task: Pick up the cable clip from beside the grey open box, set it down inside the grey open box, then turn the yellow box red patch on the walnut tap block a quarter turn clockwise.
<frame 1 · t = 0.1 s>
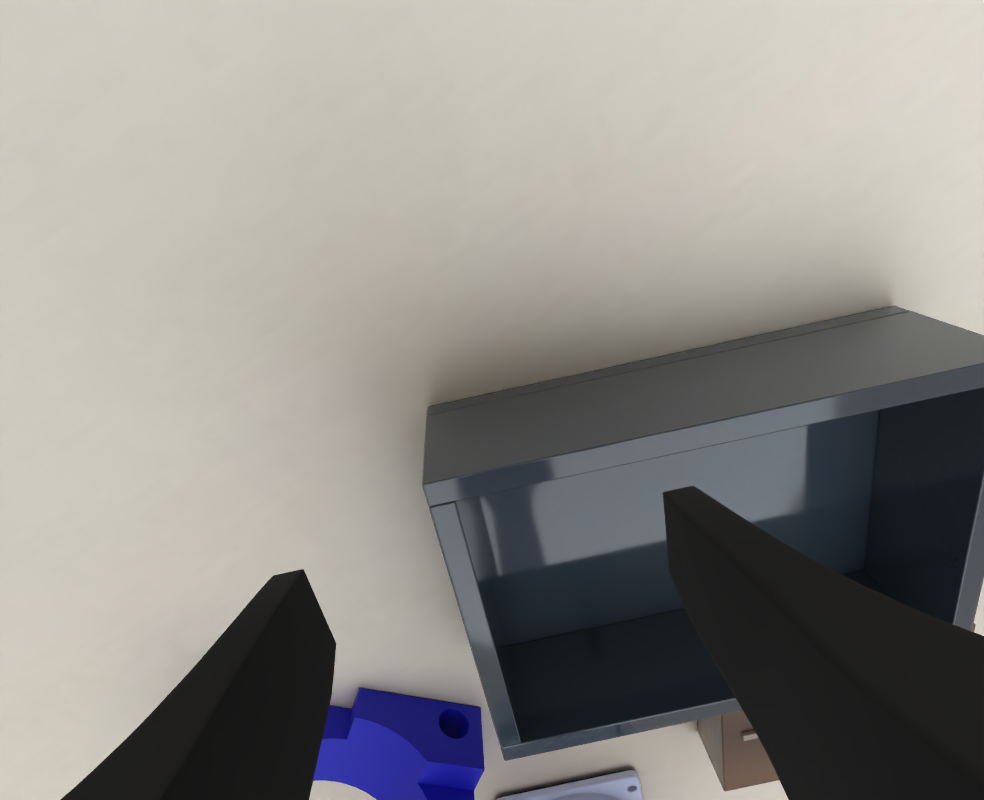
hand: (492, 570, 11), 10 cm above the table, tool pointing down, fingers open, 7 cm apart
tap block: (802, 658, 28), on the table
grey open box: (670, 495, 23), on the table
cable clip: (348, 716, 27), on the table
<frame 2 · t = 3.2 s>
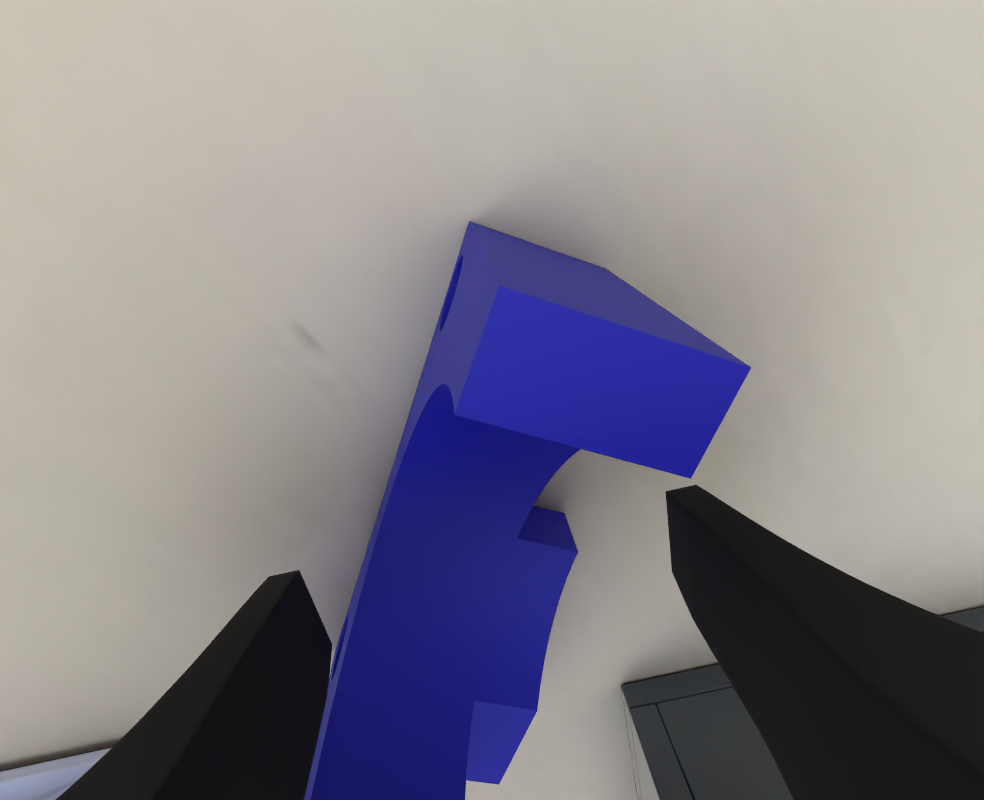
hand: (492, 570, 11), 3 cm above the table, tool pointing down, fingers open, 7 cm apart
cable clip: (480, 488, 14), on the table, touching gripper
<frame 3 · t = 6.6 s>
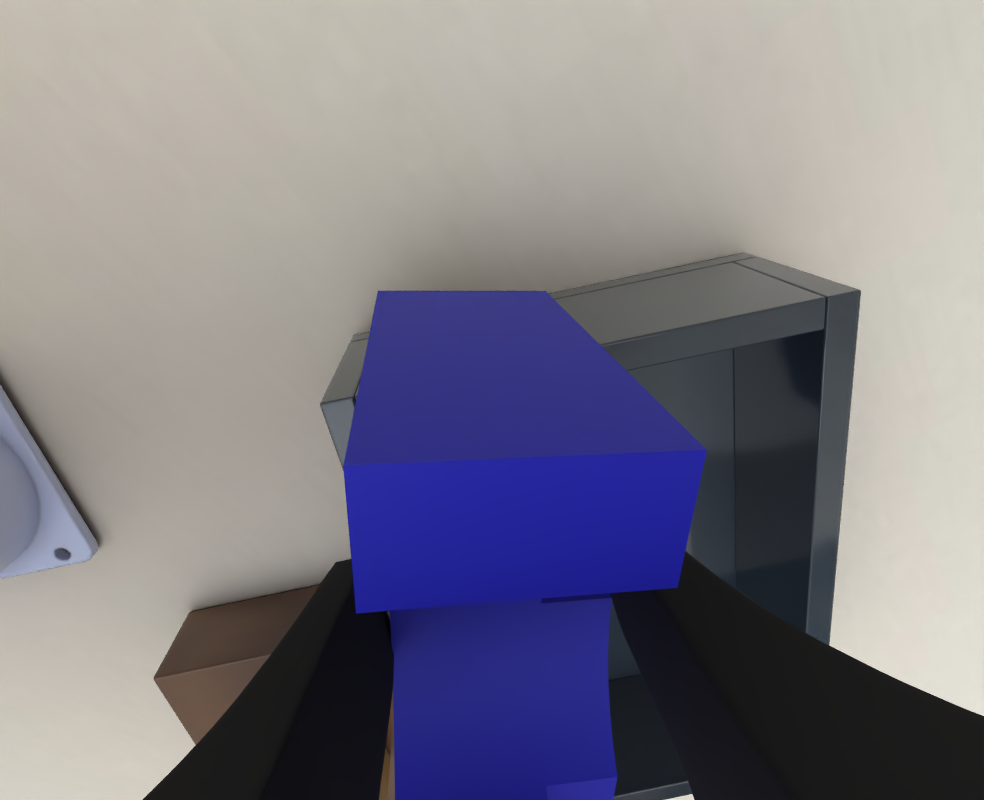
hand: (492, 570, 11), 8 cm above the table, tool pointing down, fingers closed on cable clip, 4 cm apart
tap block: (334, 687, 24), on the table
grey open box: (582, 518, 21), on the table
cable clip: (492, 551, 13), point 7 cm above the table, touching gripper
when the fingers open (2 cm above the table, at t = 9.3 s): cable clip stays where it is, resting on grey open box.
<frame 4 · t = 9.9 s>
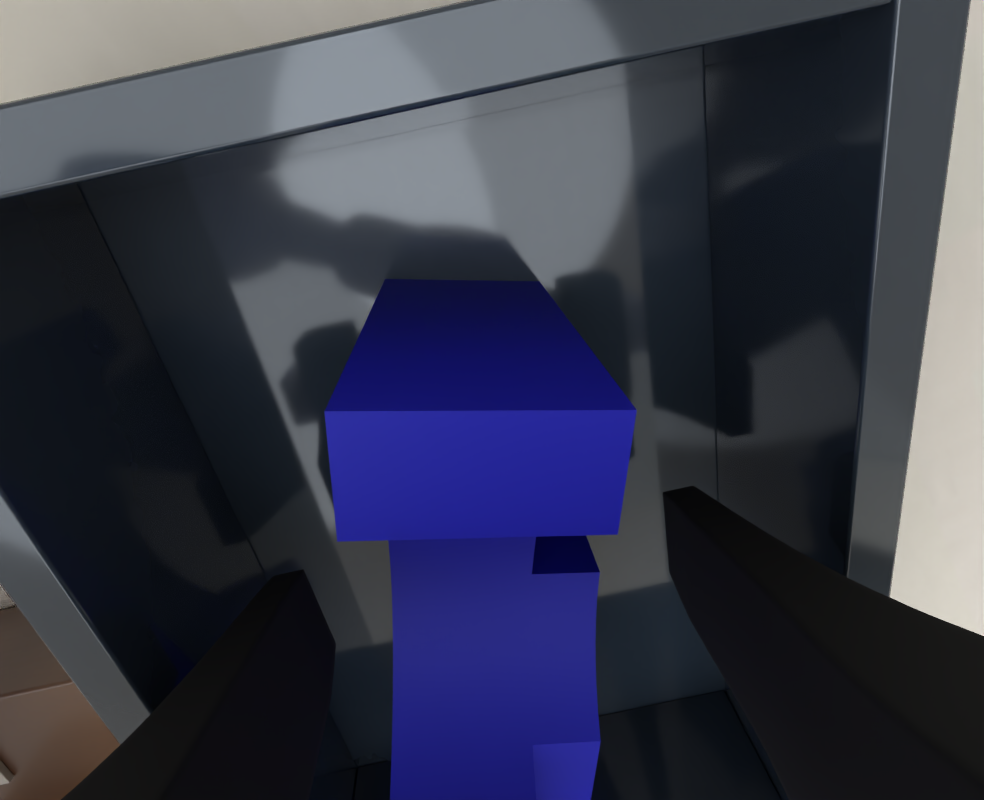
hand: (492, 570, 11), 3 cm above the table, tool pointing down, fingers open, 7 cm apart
tap block: (141, 739, 16), on the table
grey open box: (483, 487, 14), on the table
cable clip: (491, 526, 13), point 1 cm above the table, touching grey open box
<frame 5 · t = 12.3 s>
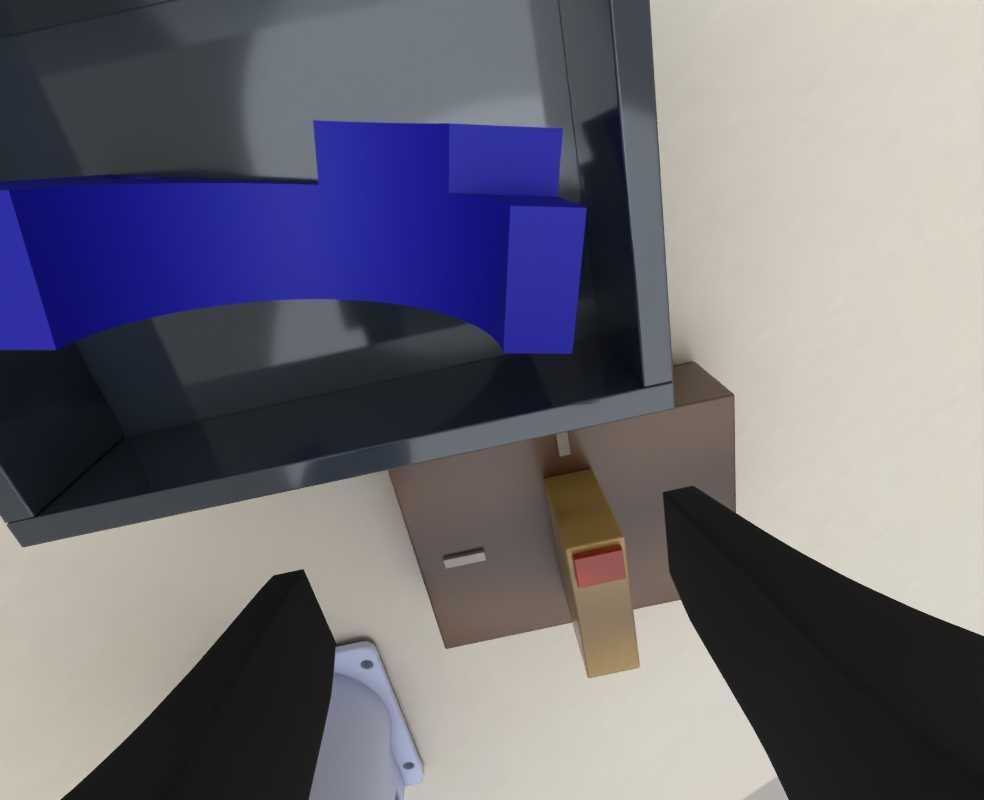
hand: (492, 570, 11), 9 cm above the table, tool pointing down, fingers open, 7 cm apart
yellow box red patch: (591, 572, 17), point 5 cm above the table, hinge at 0.0°
tap block: (560, 485, 22), on the table
grey open box: (312, 212, 17), on the table
cable clip: (332, 209, 16), point 1 cm above the table, touching grey open box
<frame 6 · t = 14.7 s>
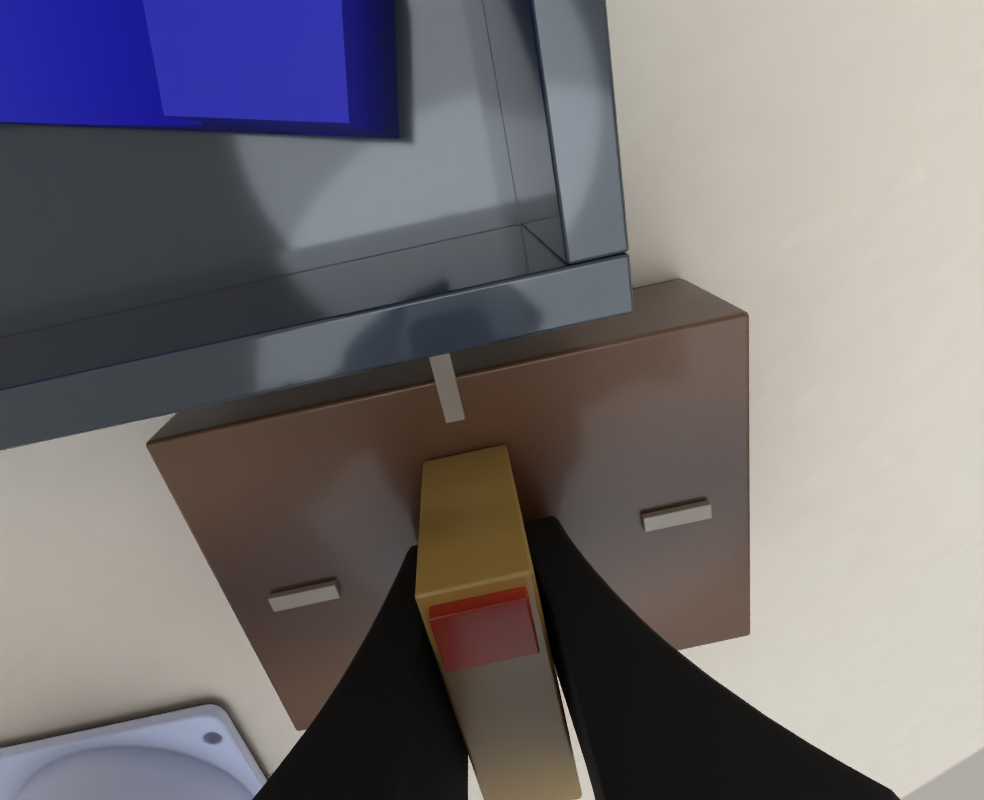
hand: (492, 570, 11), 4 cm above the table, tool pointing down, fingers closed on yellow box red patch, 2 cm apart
yellow box red patch: (498, 625, 10), point 5 cm above the table, hinge at 0.0°, touching gripper
tap block: (480, 476, 14), on the table
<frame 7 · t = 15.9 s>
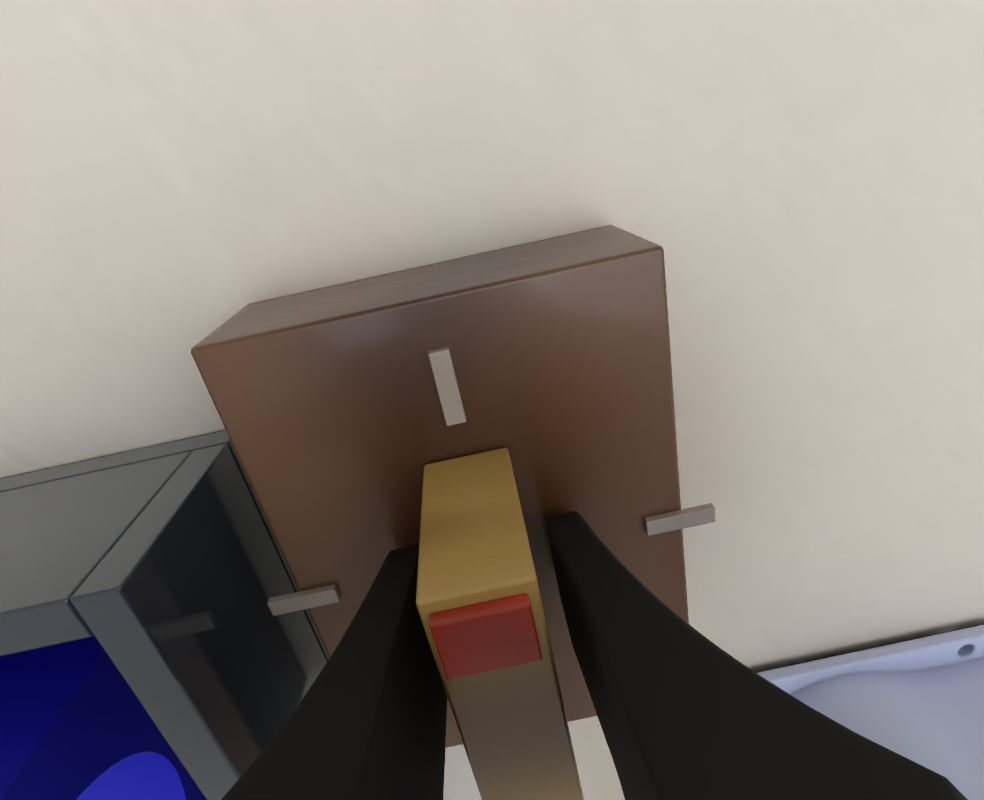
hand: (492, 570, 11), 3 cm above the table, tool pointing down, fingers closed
yellow box red patch: (500, 630, 10), point 5 cm above the table, hinge at -90.1°
tap block: (481, 478, 14), on the table
grey open box: (147, 725, 17), on the table
cable clip: (125, 729, 16), point 1 cm above the table, touching grey open box
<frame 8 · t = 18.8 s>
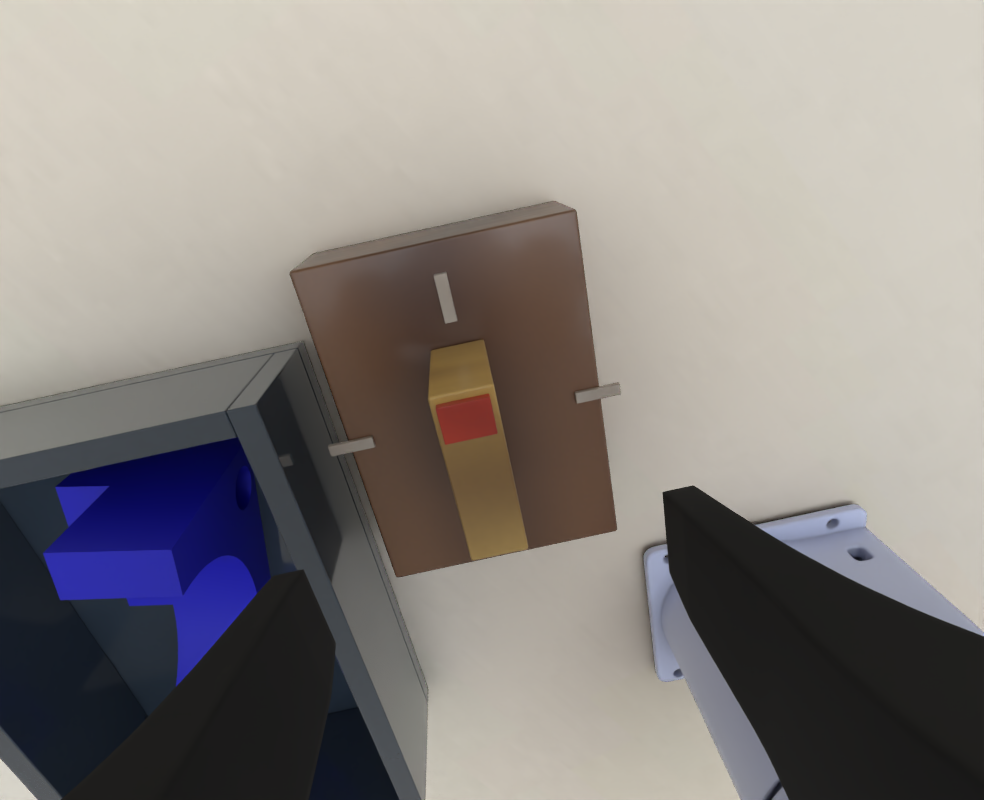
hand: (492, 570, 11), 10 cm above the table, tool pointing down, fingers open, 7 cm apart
yellow box red patch: (478, 448, 16), point 5 cm above the table, hinge at -90.1°
tap block: (470, 382, 20), on the table
grey open box: (224, 575, 23), on the table
cable clip: (212, 571, 22), point 1 cm above the table, touching grey open box
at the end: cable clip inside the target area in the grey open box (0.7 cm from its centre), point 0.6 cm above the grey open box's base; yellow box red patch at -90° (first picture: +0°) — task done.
